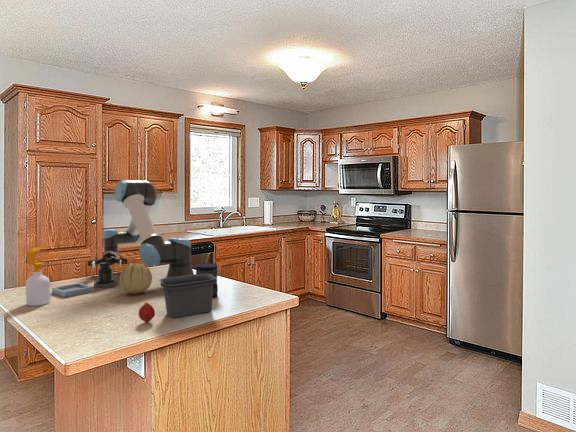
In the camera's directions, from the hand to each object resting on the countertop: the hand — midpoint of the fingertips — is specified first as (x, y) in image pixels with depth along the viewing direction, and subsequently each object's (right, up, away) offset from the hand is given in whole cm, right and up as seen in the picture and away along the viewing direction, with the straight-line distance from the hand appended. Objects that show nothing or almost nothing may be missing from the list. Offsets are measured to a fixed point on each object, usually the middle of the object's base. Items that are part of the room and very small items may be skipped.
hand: (106, 265), depth 226 cm
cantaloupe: (+25, -11, -24) cm, 36 cm away
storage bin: (+56, -13, -53) cm, 78 cm away
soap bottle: (-12, -12, -41) cm, 44 cm away
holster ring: (+3, -10, -9) cm, 13 cm away
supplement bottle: (+3, -10, -9) cm, 14 cm away
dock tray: (-7, -11, -22) cm, 26 cm away
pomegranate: (+44, -14, -66) cm, 80 cm away
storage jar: (+59, -12, -29) cm, 67 cm away
